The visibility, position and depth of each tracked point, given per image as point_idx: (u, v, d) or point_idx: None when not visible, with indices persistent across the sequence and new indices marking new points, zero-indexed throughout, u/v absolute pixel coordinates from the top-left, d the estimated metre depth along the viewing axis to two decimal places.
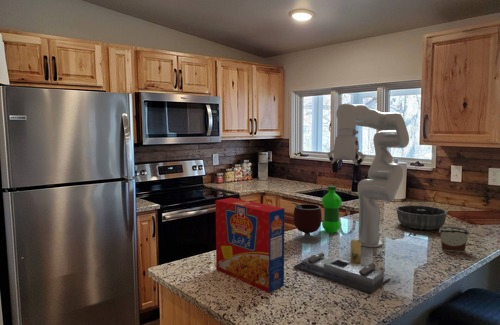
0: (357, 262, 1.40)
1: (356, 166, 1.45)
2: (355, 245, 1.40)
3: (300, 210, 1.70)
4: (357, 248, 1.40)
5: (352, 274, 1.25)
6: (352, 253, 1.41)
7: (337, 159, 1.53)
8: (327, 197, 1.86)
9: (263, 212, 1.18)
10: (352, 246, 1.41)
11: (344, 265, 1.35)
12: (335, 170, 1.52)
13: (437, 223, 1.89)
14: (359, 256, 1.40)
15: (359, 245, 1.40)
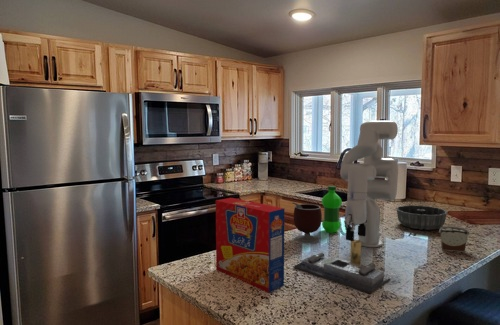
0: (357, 262, 1.40)
1: None
2: (355, 245, 1.40)
3: (300, 210, 1.70)
4: (357, 248, 1.40)
5: (352, 274, 1.25)
6: (352, 253, 1.41)
7: None
8: (327, 197, 1.86)
9: (263, 212, 1.18)
10: (352, 246, 1.41)
11: (344, 265, 1.35)
12: None
13: (437, 223, 1.89)
14: (359, 256, 1.40)
15: (359, 245, 1.40)
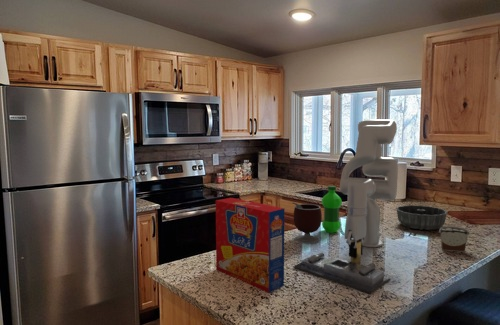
0: (357, 262, 1.40)
1: (361, 246, 1.43)
2: None
3: (300, 210, 1.70)
4: (357, 248, 1.40)
5: (352, 274, 1.25)
6: None
7: (350, 241, 1.40)
8: (327, 197, 1.86)
9: (263, 212, 1.18)
10: None
11: (344, 265, 1.35)
12: None
13: (437, 223, 1.89)
14: (359, 256, 1.40)
15: (359, 245, 1.40)
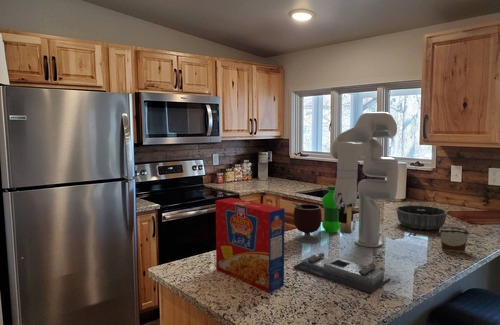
0: (347, 228, 1.33)
1: None
2: None
3: (300, 210, 1.70)
4: (348, 213, 1.32)
5: (352, 274, 1.25)
6: None
7: None
8: (327, 197, 1.86)
9: (263, 212, 1.18)
10: None
11: (344, 265, 1.35)
12: None
13: (437, 223, 1.89)
14: (349, 222, 1.33)
15: (349, 210, 1.32)
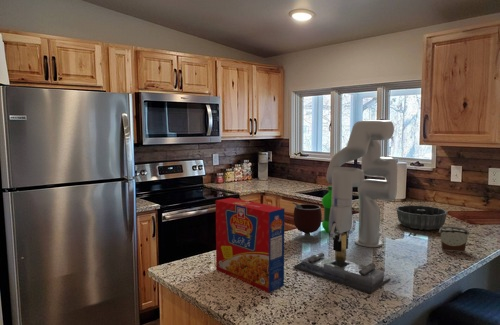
0: (342, 256, 1.31)
1: None
2: None
3: (300, 210, 1.70)
4: (342, 241, 1.31)
5: (352, 274, 1.25)
6: None
7: None
8: (327, 197, 1.86)
9: (263, 212, 1.18)
10: None
11: (344, 265, 1.35)
12: None
13: (437, 223, 1.89)
14: (344, 250, 1.31)
15: (344, 238, 1.31)
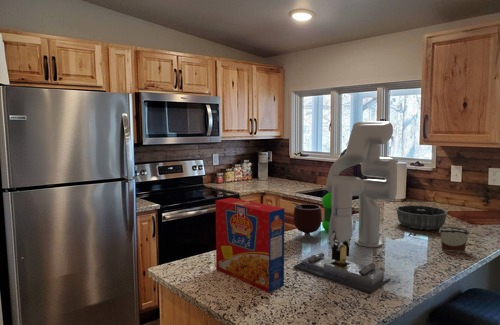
0: None
1: None
2: (340, 249, 1.31)
3: (300, 210, 1.70)
4: (342, 253, 1.31)
5: (352, 274, 1.25)
6: None
7: (334, 243, 1.31)
8: (327, 197, 1.86)
9: (263, 212, 1.18)
10: None
11: None
12: None
13: (437, 223, 1.89)
14: (344, 261, 1.32)
15: (344, 250, 1.31)
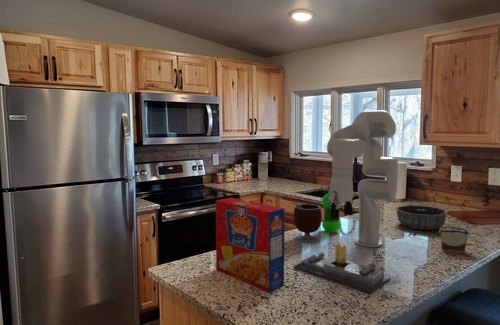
0: None
1: None
2: (340, 250, 1.31)
3: (300, 210, 1.70)
4: (342, 253, 1.31)
5: (352, 274, 1.25)
6: (337, 258, 1.32)
7: None
8: (327, 197, 1.86)
9: (263, 212, 1.18)
10: (337, 251, 1.32)
11: None
12: None
13: (437, 223, 1.89)
14: (344, 261, 1.32)
15: (344, 250, 1.31)
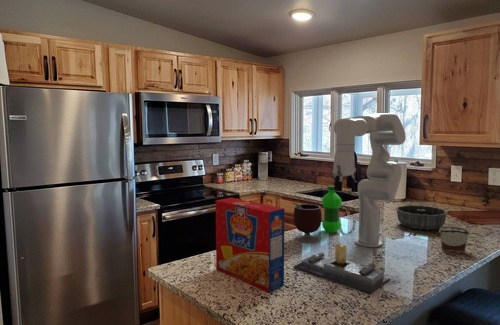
0: None
1: None
2: (340, 250, 1.31)
3: (300, 210, 1.70)
4: (342, 253, 1.31)
5: (352, 274, 1.25)
6: (337, 258, 1.32)
7: None
8: (327, 197, 1.86)
9: (263, 212, 1.18)
10: (337, 251, 1.32)
11: None
12: None
13: (437, 223, 1.89)
14: (344, 261, 1.32)
15: (344, 250, 1.31)
